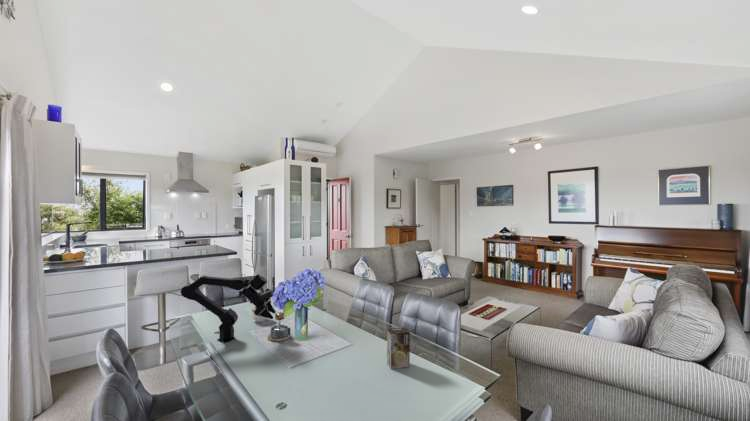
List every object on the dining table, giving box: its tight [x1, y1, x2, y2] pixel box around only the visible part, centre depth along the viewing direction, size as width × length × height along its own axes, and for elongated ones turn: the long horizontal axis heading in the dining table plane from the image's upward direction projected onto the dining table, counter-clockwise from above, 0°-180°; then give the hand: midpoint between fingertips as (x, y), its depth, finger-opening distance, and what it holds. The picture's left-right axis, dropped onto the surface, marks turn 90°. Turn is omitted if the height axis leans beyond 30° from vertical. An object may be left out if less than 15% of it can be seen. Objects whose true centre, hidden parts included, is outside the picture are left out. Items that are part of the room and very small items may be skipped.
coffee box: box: [386, 327, 411, 370], centre depth 147 cm, size 9×6×16 cm
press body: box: [267, 324, 292, 343], centre depth 176 cm, size 12×12×5 cm
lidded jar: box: [251, 306, 271, 323], centre depth 200 cm, size 11×11×9 cm
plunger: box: [273, 311, 286, 331], centre depth 176 cm, size 7×7×9 cm
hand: (274, 315), depth 175 cm, fingers open, 9 cm apart
